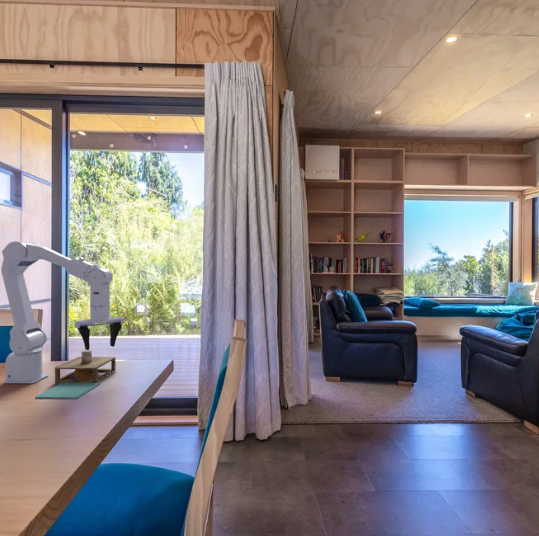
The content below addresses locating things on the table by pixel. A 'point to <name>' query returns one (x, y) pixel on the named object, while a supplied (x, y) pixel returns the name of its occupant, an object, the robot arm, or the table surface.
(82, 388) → the mat
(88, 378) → the pastry
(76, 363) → the cover
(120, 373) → the table surface
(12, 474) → the table surface
